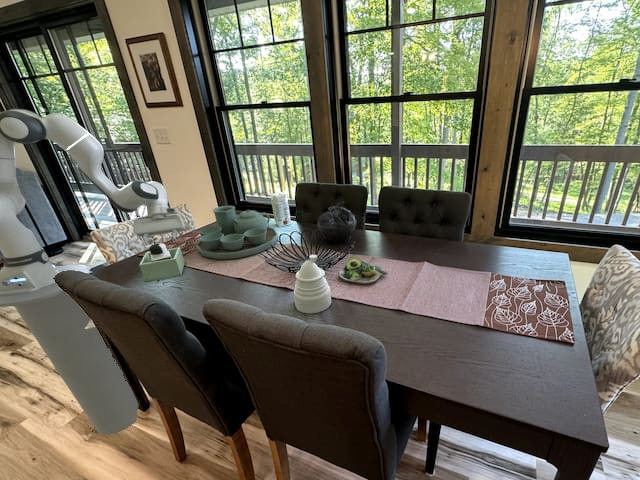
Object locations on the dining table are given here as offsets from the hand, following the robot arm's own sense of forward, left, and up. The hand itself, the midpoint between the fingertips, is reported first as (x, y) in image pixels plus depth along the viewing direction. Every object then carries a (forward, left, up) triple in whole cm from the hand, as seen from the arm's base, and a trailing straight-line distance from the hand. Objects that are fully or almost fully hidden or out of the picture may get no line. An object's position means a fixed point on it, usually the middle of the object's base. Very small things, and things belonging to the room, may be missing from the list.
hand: (162, 241), depth 142 cm
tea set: (+32, +10, -11) cm, 35 cm away
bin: (0, -9, -11) cm, 14 cm away
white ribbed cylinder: (+58, +31, -11) cm, 66 cm away
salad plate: (+78, -48, -11) cm, 93 cm away
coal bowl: (+81, -7, -11) cm, 82 cm away
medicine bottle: (0, -10, -10) cm, 14 cm away
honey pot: (+55, -61, -11) cm, 83 cm away
